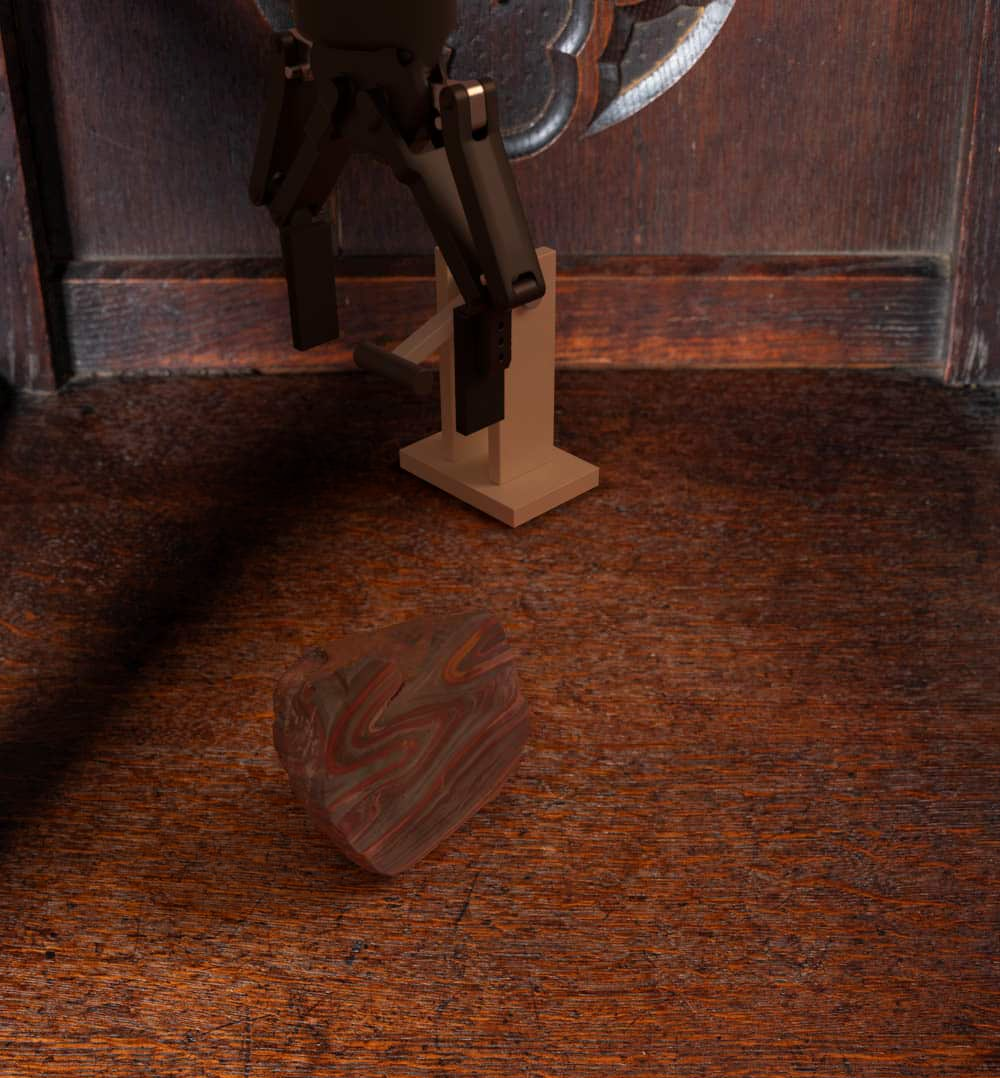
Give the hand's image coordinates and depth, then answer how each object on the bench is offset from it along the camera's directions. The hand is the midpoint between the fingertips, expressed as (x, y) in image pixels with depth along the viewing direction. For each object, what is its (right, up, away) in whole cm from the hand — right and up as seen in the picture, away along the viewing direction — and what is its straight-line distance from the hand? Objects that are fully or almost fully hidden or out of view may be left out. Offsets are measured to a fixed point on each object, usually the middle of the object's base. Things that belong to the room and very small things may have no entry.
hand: (394, 382), depth 77 cm
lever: (+3, +3, +1) cm, 4 cm away
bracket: (+6, -3, +9) cm, 11 cm away
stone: (0, -22, -14) cm, 26 cm away
